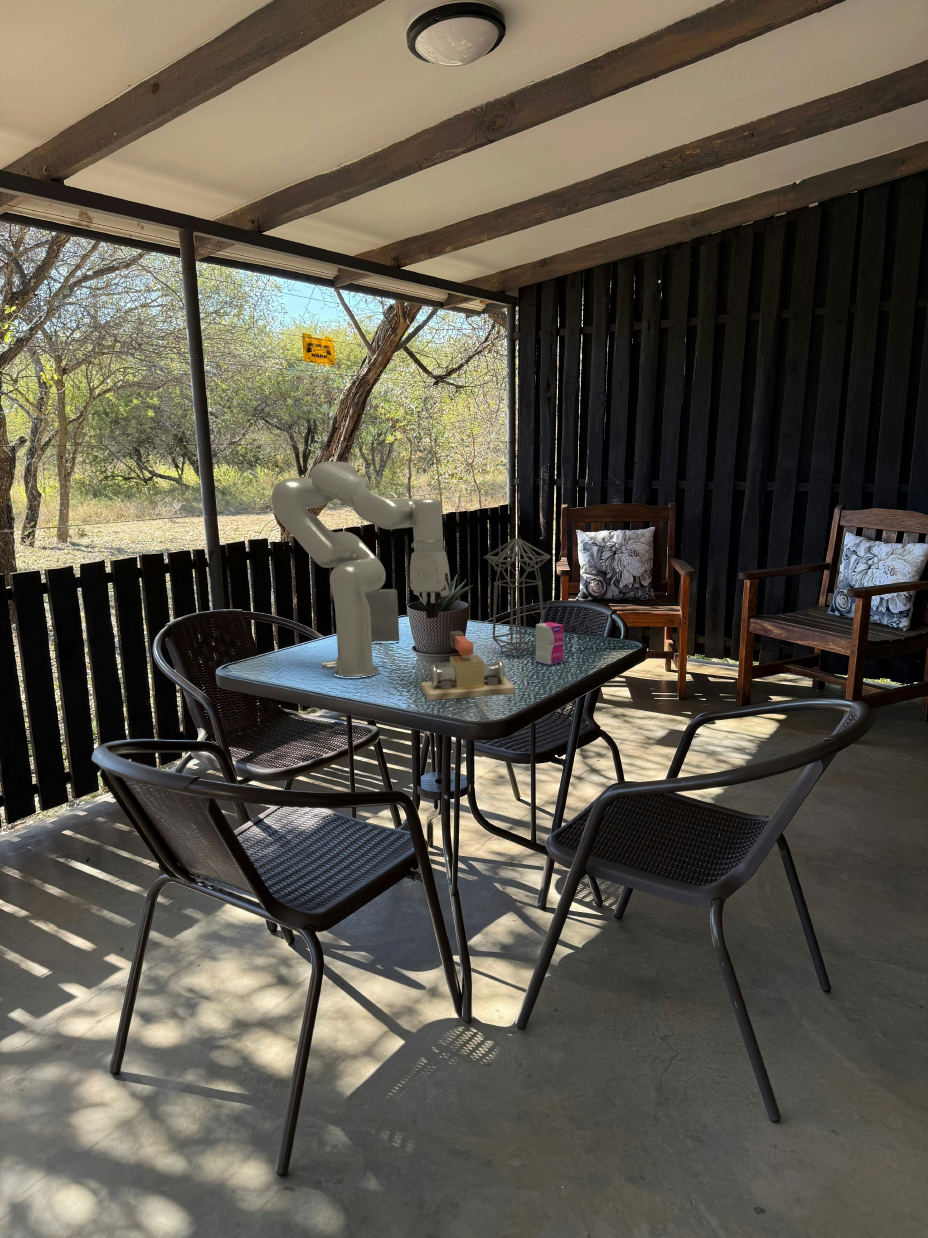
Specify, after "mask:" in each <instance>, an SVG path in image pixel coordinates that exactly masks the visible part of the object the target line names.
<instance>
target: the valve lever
mask: <svg viewBox="0 0 928 1238" xmlns="http://www.w3.org/2000/svg"><path fill="white" fill-rule="evenodd" d="M449 645H450V646H451V648H453V649H455V650H457V651H458V654H459V656H463V658H465V659H467V658H470V655H475V654H474V642H473V641H470V640H469V639H468V638H467V637H465V633H464V632H462V631H461V630H456V631H449Z"/></svg>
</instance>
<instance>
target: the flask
mask: <svg viewBox="0 0 928 1238" xmlns="http://www.w3.org/2000/svg"><path fill="white" fill-rule="evenodd" d="M364 594H365V597H366V599H367V602H368V604H369V608H370V618H371V638H372V642H374V641H398V640H399V641H400V630H399V629H400V628H399V627H400V626H399V625H400V624H399V623H400V622H399V604H398V603H399V602H398V601H399V600H398V590H397V589H394V588H389V589H388V588H386V589H385V588H383V589H382V588H379V589H377V590H375V591H372V592H368V593H364Z"/></svg>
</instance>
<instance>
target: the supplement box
mask: <svg viewBox="0 0 928 1238" xmlns="http://www.w3.org/2000/svg"><path fill="white" fill-rule="evenodd" d="M535 635H536V637H535V640H536V642H535V644H536V653H535V664H539V665H542V664H543V666H547V667H550V665H551V666H554V665H553V664H555V665H558V664H557V663H561V662H563V663H564V624H560V623H557V622H552V621H551V622H550V621H548V622H544V623H541V622H540V623H537V624H535ZM561 664H562V663H561Z"/></svg>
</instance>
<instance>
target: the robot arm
mask: <svg viewBox="0 0 928 1238" xmlns="http://www.w3.org/2000/svg"><path fill="white" fill-rule="evenodd" d="M370 482H371V481H369V479H367V478H366V477H364V476H361V475H359V474H358V471H357V470H356V468H355V467H354V465H352V464H351V463H349V462H346V461H323V462H320V463H317V464H315V466H314V467H313V468H312V469H311V471H310V475H309V477H292V478H291V477H290V478H286V479H283V480H281V481H279V482H277V483H276V485H274V488H273V489H272V494H271V505H272V506H271V507H272V509H273V512H274V515H275V516H276V518H277V520H278V521H279V522H280V523H281V525H282V527H284V528H285V529H286V530H287V532H289V533H290V534H291V535H292V536H293V537H294V538H295V540H297V542H298V544H299V545H300V546H302V547H303V549H304V550H305V552H307V554H308V555H309V556H310V557H311V558H312V559H313V561H314V562H315V563H316V564H317V565H319V566H320V567H322V568H326V569H327V568H328V569H329V568H333V569H332V571H331V573H330V577H329V583H330V588H331V592H332V593H331V594H332V596H333V597H332V598H333V602H334V611H335V613H334V614H335V627H336V644H337V657H336V659H333V661H327V660H326V661H322V662H321V669H326V670H332V669H333V671H332V672H333V673H334V674H336V675H339V676H343V677H362V676H369V675H373V674H376V673H378V674H379V671H380V669H379V667H378V666H375V665H374V662H373V644H372V638H371V618H370V608H369V604H368V602H367V599H366V597H365V594H364V593H368V592H372V591H375V590H377V589H382V587H383V585H384V584H385V582H386V569H385V568H384V565H383V564H382V562H381V560H379V559H378V557H377V556H375V554H374V553H373V552H372V551H371V550H370V548H369V547H368V546H367V545H366V544H365V543H364V542H363V541H362V540H361V539H360V538H359V537H358V536H357V535H355V534H354V533H352V532H349V531H337V532H336V531H335V532H334V531H331V530H330V529H329V528H328V527H326V525H325V524H324V523H323V522H322V521H321V519H320V518H319V517H317V516H316V515H315V514H313V513H311V512H310V511H308V508H309V509H311V508H319V507H322V506H325V505H327V504H330V503H331V502H334V501H336V500H337V501H339V502H340V503H343V504H345V505H347V506H349V507H351V508H352V510H353V511H354V513H356V515H357V516H358V517H359V518H361V519H363V520H364V521H366V522H368V523H370V524H372V525H374V526H376V527H378V528H381V529H384V530H395V529H405V528H412V530H413V542H412V543H410V544H411V545H410V546H411V548H412V549H413V548H414V549H413V551H414V552H412V553H411V556H410V565H409V586H410V589H411V591H413V594H414V595H416V596H419V597H420V598H421V599H422V602H423V603H424V604H425V614H426V618H427V619H435V618H438V617H439V614H440V611H439V602H441V599H442V598H443V597H445V596H449V595H450V588H451V574H450V566H449V561H448V557H447V553H446V551H445V550H444V535H443V534H444V533H443V514H442V513H443V510H442V502H441V500H439V499H438V498H419V499H415V498H392V499H387V498H385V497H382V496H380V495H378V494H376V493H374V492H372V491H371V490H372V487H371V483H370ZM334 674H333V675H334ZM376 675H377V674H376Z"/></svg>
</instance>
